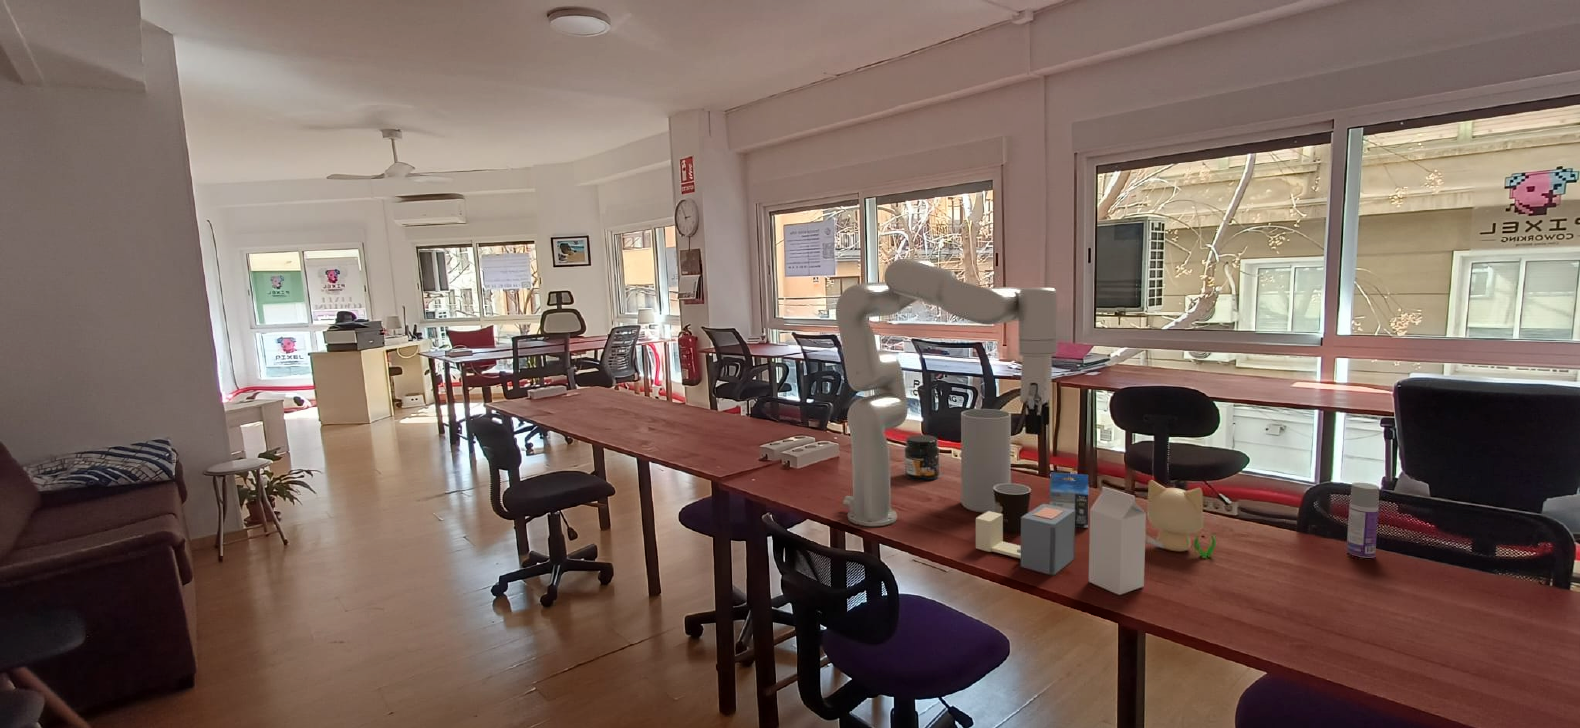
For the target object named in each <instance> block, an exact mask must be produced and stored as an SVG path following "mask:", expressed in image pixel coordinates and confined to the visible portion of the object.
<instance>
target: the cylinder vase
mask: <svg viewBox="0 0 1580 728" xmlns="http://www.w3.org/2000/svg"><path fill="white" fill-rule="evenodd" d="M960 418H961V419H960V426H961V427H960V432H961V433H960V434H961V436H960V440H961V441H960V447H961V448H960V450H961V451H960V452H961V453H960V457H961V459H960V460H961V463H960V464H961V466H960V469H961V470H960V473H961V475H960V477H961V478H960V481H961V483H960V484H961V488H960V489H961V504H962V507H964V508H965V509H967V510H970V511H972V512H977V513H982V514H984V513H986V512H988V511H991V512H995V513H996V505H995V497H994V488H993V487H994V486H995V485H998V484H1005V483H1011V472H1012V471H1011V470H1012V469H1011V466H1012V465H1011V464H1012V463H1011V457H1012V454H1011V451H1012V449H1011V448H1012V446H1011V445H1012V443H1011V441H1012V439H1011V438H1012V437H1011V435H1012V427H1011V426H1012V414H1011V412H1009V411H1006V410H1001V409H995V408H993V409H992V408H991V409H989V408H977V409H976V408H975V409H968V410H964V411H962V412H961V413H960Z"/></svg>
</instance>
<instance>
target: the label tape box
mask: <svg viewBox="0 0 1580 728" xmlns="http://www.w3.org/2000/svg"><path fill="white" fill-rule="evenodd" d="M1068 478H1070V479H1074V480H1069V479H1068ZM1067 479H1068V480H1067ZM1089 489H1090V486H1089V475H1088V474H1084V473H1083V474H1081V473H1080V474H1079V473H1067V472H1065V473H1064V472H1050V482H1049V503H1048V505H1053V506H1057V507H1062V508H1067V509H1072V510H1075V528H1085V529H1088V528H1089V517H1090V509H1089V507H1090V506H1089V505H1090V490H1089Z"/></svg>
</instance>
